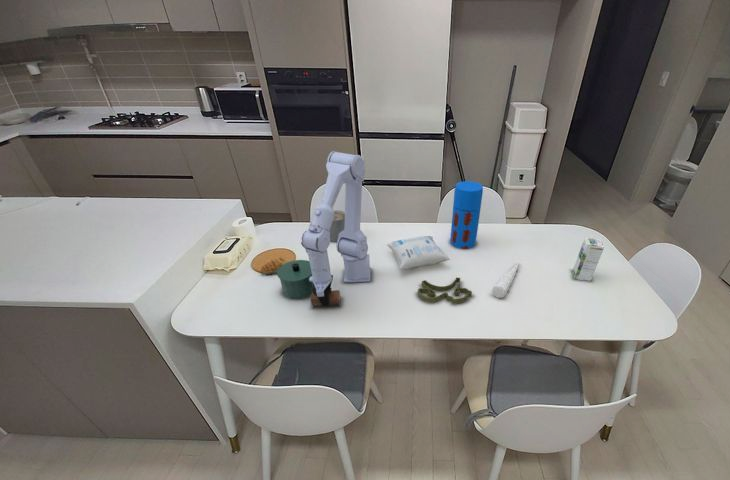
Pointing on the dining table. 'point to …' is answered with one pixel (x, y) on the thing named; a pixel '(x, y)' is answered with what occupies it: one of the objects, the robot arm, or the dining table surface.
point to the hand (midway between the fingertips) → (326, 300)
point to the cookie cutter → (431, 293)
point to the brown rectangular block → (333, 299)
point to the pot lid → (295, 271)
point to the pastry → (273, 266)
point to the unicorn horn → (504, 283)
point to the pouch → (417, 252)
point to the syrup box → (588, 259)
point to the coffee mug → (337, 225)
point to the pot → (297, 288)
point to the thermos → (466, 214)
